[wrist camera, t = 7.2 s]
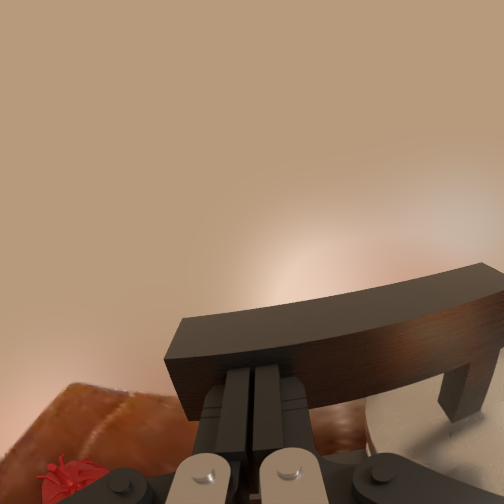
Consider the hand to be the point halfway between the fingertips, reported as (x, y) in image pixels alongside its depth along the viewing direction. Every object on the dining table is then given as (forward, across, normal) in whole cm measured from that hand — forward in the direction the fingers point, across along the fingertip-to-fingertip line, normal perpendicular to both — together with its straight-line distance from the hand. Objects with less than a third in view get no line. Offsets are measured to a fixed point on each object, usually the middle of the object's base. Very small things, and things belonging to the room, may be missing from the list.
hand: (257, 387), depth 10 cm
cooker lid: (+2, -10, +8) cm, 13 cm away
